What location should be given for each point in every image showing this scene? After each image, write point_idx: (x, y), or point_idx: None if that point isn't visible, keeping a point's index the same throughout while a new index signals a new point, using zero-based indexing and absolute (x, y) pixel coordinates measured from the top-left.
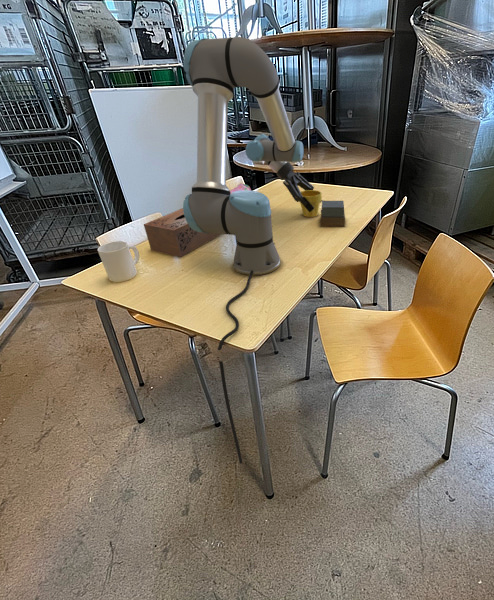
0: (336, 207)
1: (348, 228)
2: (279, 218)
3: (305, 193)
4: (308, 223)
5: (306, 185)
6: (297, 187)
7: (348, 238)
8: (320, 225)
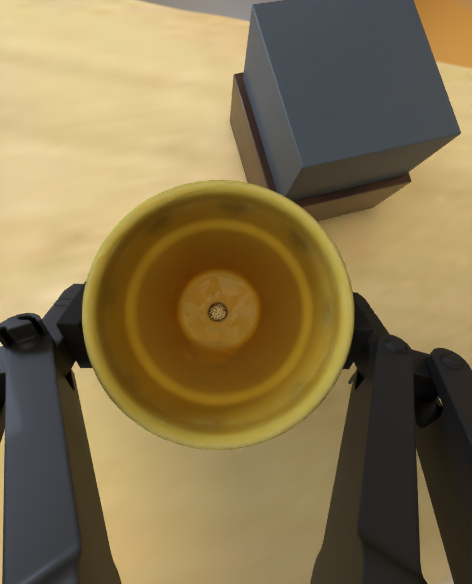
0: (424, 33)
1: None
2: (327, 466)
3: (141, 389)
4: (350, 277)
5: (63, 420)
6: (392, 477)
7: (454, 67)
8: (377, 203)
